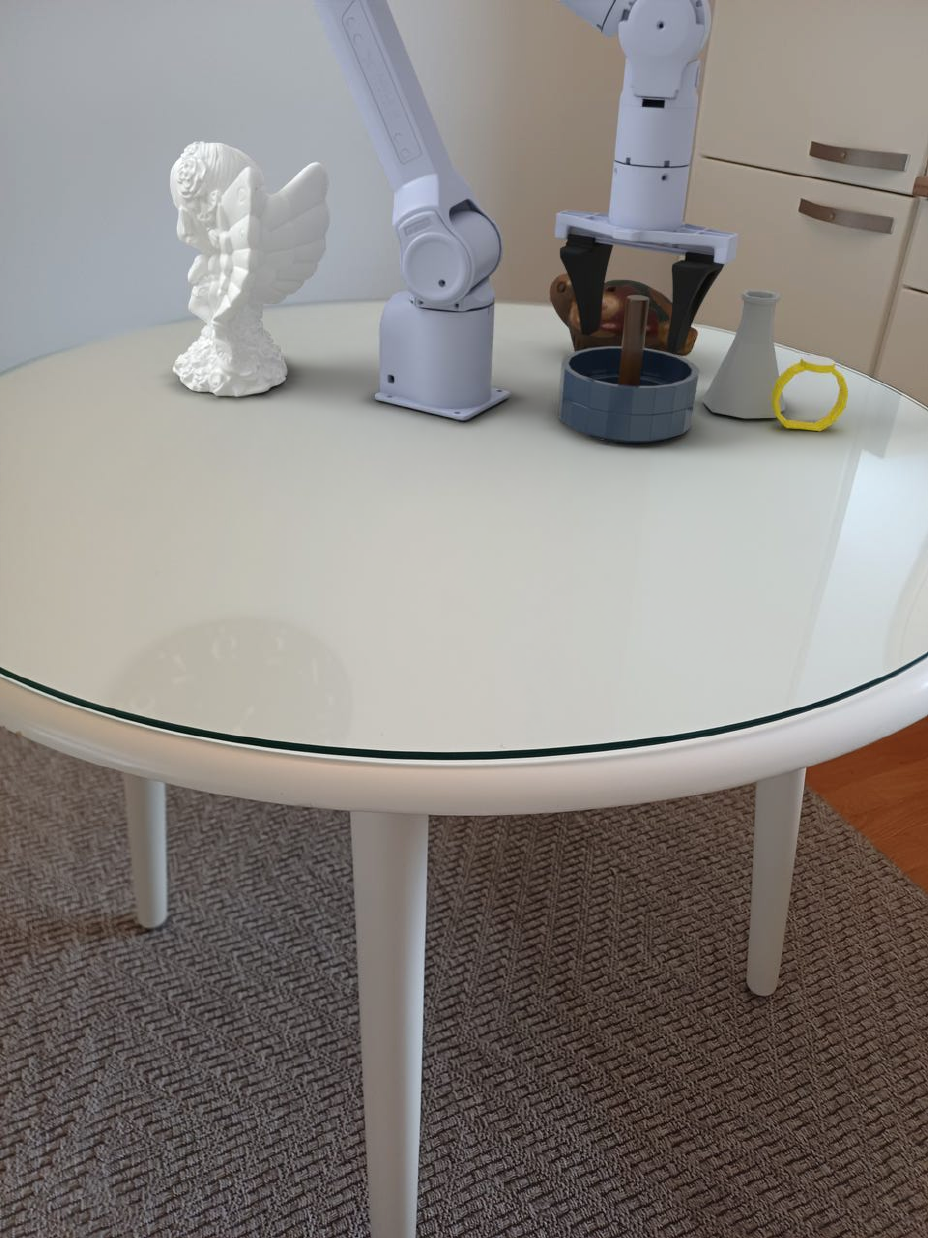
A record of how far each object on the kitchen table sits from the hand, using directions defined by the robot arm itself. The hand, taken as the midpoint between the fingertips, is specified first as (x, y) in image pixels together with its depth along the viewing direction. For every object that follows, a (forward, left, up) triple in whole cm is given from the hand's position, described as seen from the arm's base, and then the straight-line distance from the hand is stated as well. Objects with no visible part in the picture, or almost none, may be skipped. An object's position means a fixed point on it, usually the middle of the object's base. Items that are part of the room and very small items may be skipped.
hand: (631, 340), depth 89 cm
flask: (+7, +10, -7) cm, 14 cm away
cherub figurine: (-34, -9, -7) cm, 36 cm away
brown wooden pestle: (0, 0, -7) cm, 7 cm away
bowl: (0, 0, -7) cm, 7 cm away
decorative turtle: (-8, +16, -7) cm, 19 cm away
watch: (+13, +8, -7) cm, 17 cm away
